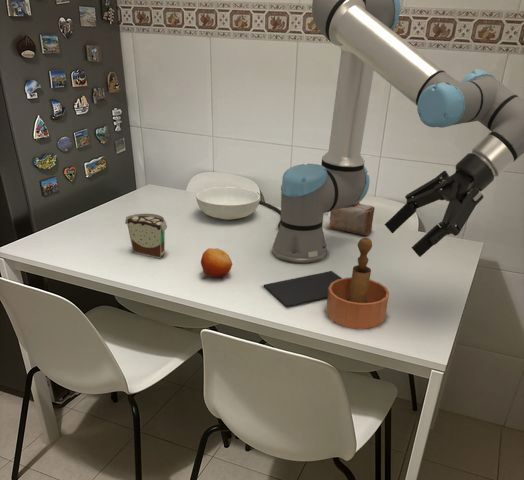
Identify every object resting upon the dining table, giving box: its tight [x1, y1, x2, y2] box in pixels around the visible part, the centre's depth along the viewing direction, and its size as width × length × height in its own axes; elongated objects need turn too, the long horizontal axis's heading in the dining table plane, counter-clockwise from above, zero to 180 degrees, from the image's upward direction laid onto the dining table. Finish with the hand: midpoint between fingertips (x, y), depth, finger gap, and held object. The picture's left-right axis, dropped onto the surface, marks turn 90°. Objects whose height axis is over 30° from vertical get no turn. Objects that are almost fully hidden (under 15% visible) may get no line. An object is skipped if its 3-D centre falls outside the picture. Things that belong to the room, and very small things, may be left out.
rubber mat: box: [263, 270, 343, 309], centre depth 128 cm, size 12×20×1 cm, turn 117°
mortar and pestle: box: [346, 237, 373, 303], centre depth 113 cm, size 7×6×18 cm
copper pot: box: [325, 276, 390, 330], centre depth 117 cm, size 13×13×6 cm
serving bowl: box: [195, 186, 261, 221], centre depth 171 cm, size 21×21×7 cm
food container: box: [124, 212, 168, 259], centre depth 143 cm, size 12×6×10 cm, turn 65°
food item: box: [328, 202, 375, 236], centre depth 161 cm, size 14×8×10 cm, turn 59°
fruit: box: [200, 247, 233, 279], centre depth 132 cm, size 8×8×8 cm
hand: (401, 240), depth 110 cm, fingers open, 13 cm apart
